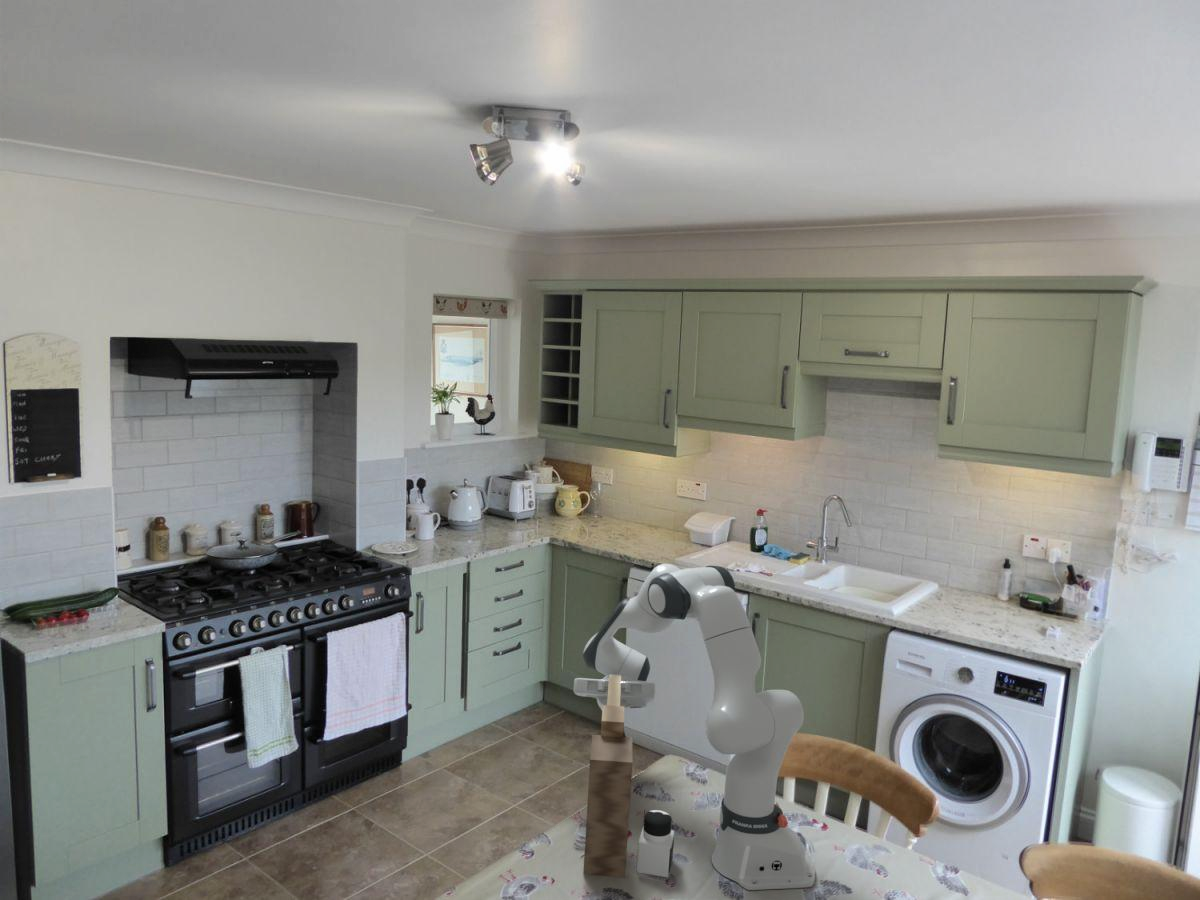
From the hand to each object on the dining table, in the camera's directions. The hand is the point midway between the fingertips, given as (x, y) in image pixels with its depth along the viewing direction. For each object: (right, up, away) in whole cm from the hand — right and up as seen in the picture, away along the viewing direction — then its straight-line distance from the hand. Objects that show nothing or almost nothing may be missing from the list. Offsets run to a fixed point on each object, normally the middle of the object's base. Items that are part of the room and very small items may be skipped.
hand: (614, 684), depth 210 cm
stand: (-3, -34, -18) cm, 38 cm away
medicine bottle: (+8, -35, -19) cm, 41 cm away
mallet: (-1, -5, -6) cm, 8 cm away
